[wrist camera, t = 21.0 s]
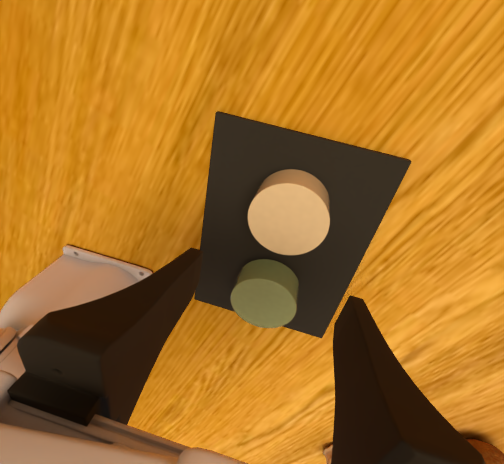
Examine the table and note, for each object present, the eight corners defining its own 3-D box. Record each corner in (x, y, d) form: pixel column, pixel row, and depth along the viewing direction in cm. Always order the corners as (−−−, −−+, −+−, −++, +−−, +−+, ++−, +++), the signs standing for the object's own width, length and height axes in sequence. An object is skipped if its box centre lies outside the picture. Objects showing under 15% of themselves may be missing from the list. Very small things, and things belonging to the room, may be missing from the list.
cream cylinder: (258, 232, 24) (250, 252, 22) (253, 167, 21) (244, 182, 19) (327, 236, 23) (327, 258, 20) (332, 167, 20) (332, 184, 18)
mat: (195, 296, 30) (194, 299, 30) (217, 111, 20) (215, 112, 20) (322, 335, 29) (321, 338, 29) (410, 159, 19) (411, 161, 19)
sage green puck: (234, 294, 28) (226, 317, 26) (244, 249, 25) (235, 270, 23) (290, 310, 28) (286, 335, 25) (307, 267, 25) (304, 290, 22)
